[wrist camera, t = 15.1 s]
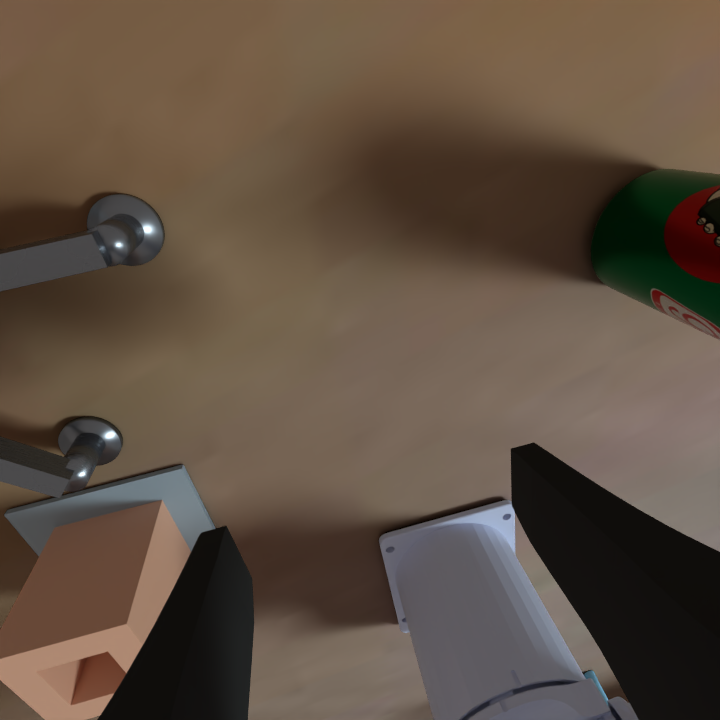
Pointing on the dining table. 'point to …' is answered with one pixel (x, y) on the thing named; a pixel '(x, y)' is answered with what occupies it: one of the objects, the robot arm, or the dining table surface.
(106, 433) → the bent jointed bar linkage
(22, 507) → the mat
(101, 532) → the pink block with hole
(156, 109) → the dining table surface
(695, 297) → the soda can
